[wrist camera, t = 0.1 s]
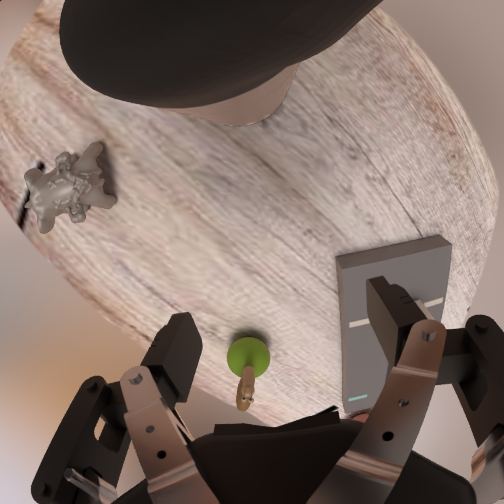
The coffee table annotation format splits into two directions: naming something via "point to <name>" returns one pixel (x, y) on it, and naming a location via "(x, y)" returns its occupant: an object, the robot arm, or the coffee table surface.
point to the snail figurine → (247, 367)
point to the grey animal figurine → (67, 188)
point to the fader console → (355, 307)
